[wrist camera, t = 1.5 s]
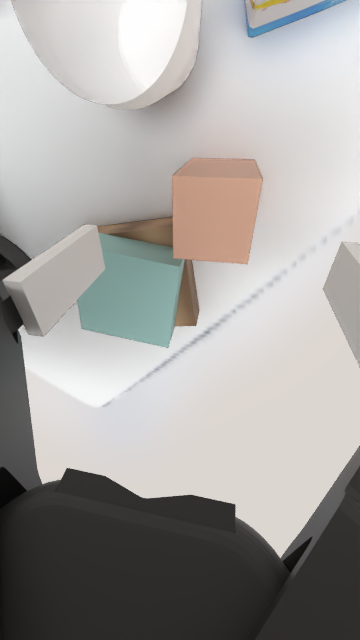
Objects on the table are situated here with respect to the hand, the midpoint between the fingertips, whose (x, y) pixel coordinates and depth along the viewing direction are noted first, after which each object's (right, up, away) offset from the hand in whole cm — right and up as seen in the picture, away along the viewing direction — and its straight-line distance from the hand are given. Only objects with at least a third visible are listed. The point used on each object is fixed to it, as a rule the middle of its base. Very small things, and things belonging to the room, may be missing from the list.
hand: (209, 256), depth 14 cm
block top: (-7, +1, +17) cm, 18 cm away
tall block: (+2, +10, +12) cm, 16 cm away
